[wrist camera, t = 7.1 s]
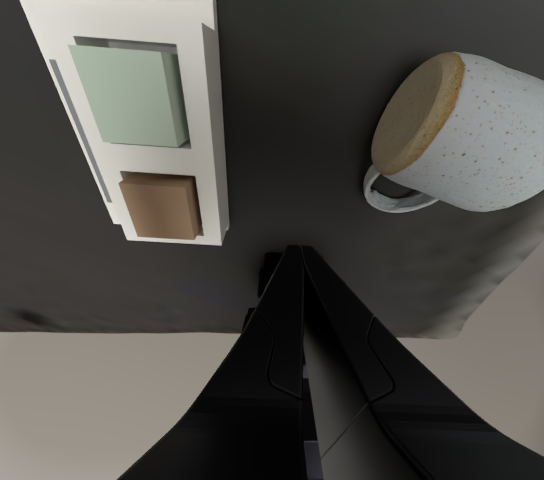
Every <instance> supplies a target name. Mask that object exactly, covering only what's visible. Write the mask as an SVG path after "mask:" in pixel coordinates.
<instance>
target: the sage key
mask: <svg viewBox="0 0 544 480" xmlns="http://www.w3.org/2000/svg"><path fill="white" fill-rule="evenodd" d="M68 47H69V50H70V53H71V55H72V58H73V61H74V64H75V66H76V69H77V72H78V75H79V77H80V80H81V83H82V86H83V88H84V91H85V94H86V97H87V99H88V102H89V105H90V108H91V111H92V113H93V116H94V119H95V122H96V124H97V127H98V130H99V133H100V135H101V138H102V141H103V142H110V143H125V144H139V145H154V146H168V147H179V146H180V145H181V144H182V143H184V142H185V141H186V140H188V139H189V138H190V136H189V129H188V122H187V115H186V108H185V101H184V94H183V87H182V80H181V73H180V66H179V59H178V55H177V54H171V53H164V52H156V51H143V50H131V49H118V48H105V47H93V46H80V45H68Z"/></svg>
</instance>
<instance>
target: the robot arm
mask: <svg viewBox="0 0 544 480" xmlns="http://www.w3.org/2000/svg"><path fill="white" fill-rule="evenodd" d="M268 257H270V258H268ZM117 480H544V456H541V455H540V454H538V453H536V452H534V451H532V450H530V449H529V448H527V447H525V446H523V445H521V444H519V443H517V442H516V441H514V440H512V439H510V438H509V437H507V436H506V435H504V434H503V433H501V432H500V431H498V430H497V429H495V428H494V427H493V426H491V425H490V424H489V423H487V422H486V421H485V420H484V419H482V418H481V417H480V416H478V415H477V414H476V413H475V412H474V411H473V410H472V409H471V408H469V407H468V406H467V405H466V404H465V403H464V402H463V401H462V400H461V399H459V398H458V397H457V396H456V395H455V394H454V393H453V392H452V391H451V390H450V389H449V388H448V387H447V386H446V385H445V384H444V383H442V382H441V381H440V380H439V379H438V378H437V377H436V376H435V375H434V374H433V373H432V372H431V371H430V370H428V369H427V368H426V367H425V366H424V365H423V364H422V363H421V362H420V361H419V360H418V359H417V358H416V357H415V356H414V355H413V354H412V353H411V352H410V351H409V350H407V349H406V348H405V347H404V346H403V345H402V344H401V343H400V342H399V341H398V340H397V339H396V338H395V336H394V335H393V334H392V333H391V332H390V331H389V330H388V329H387V328H386V327H385V326H384V325H383V324H382V323H381V322H380V321H379V319H378V318H377V317H374V314H373V313H372V312H371V311H370V310H369V309H368V308H367V306H366V305H365V304H364V303H363V302H362V301H361V300H360V299H359V298H358V297H357V296H356V294H355V293H354V292H353V291H352V290H351V289H350V288H349V287H348V286H347V285H346V283H345V282H344V281H343V280H342V279H341V278H340V277H339V276H338V275H337V274H336V273H335V271H334V270H333V269H332V268H331V267H330V266H329V265H328V264H327V263H326V262H325V260H324V259H323V258H322V257H321V256H320V255H319V254H318V253H317V252H316V251H315V250H314V248H313V247H311V246H304V245H301V246H300V247H299V246H298V245H288V246H287V248H286V250H285V251H284V253H283V254H277V253H267V254H266V255H265V259H264V269H261V270H260V273H259V285H258V297H257V306H256V308H249V309H248V313H247V315H246V317H245V321H244V325H243V329H242V333H241V335H240V337H239V338H238V340H237V341H236V343H235V344H234V346H233V347H232V349H231V350H230V352H229V353H228V355H227V356H226V358H225V359H224V360H223V362H222V363H221V365H220V366H219V368H218V369H217V370H216V372H215V373H214V375H213V376H212V378H211V379H210V380H209V382H208V383H207V385H206V386H205V388H204V389H203V391H202V392H201V393H200V395H199V396H198V397H197V399H196V400H195V401H194V403H193V404H192V405H191V407H190V408H189V409H188V411H187V412H186V413H185V414H184V415H183V417H182V418H181V419H180V420H179V421H178V422H177V423H176V425H174V427H173V428H172V429H171V430H170V431H169V432H168V433H166V434H165V435H164V436H163V437H162V438H161V439H160V440H159V441H158V442H157V443H156V444H155V445H153V446H152V447H151V449H149V450H148V451H147V452H146V453H145V454H144V455H143V456H142V457H141V458H140V459H138V460H137V461H136V462H135V463H134V464H133V465H132V466H131V467H130V468H129V469H128V470H127V471H126V472H125V473H123V474H122V475H121V476H120V477H119V478H118V479H117Z"/></svg>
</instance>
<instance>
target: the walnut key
mask: <svg viewBox="0 0 544 480" xmlns="http://www.w3.org/2000/svg"><path fill="white" fill-rule="evenodd" d="M118 184H119V187H120V189H121V192H122V195H123V198H124V200H125V203H126V206H127V209H128V211H129V214H130V217H131V220H132V222H133V225H134V228H135V231H136V234H137V236H138V237H149V238H166V239H183V240H195V238H196V236H197V234H198V232H199V230H200V228H201V226H202V219H201V212H200V205H199V198H198V191H197V184H196V177H195V176H191V175H176V174H160V173H145V172H133V173H132V174H131V175H129V176H128V177H126V178H125V179H124V180H122V181H121V182H119V183H118Z"/></svg>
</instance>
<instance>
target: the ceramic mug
mask: <svg viewBox="0 0 544 480" xmlns="http://www.w3.org/2000/svg"><path fill="white" fill-rule="evenodd" d="M371 157H372V161H373V165H372V166H371V167H370V168H369V169H368V171H367V174H366V176H365V178H364V195H365V198H366V200H367V202H368V203H369V204H370V205H372V206H373V207H375V208H377V209H379V210H381V211H385V212H392V213H402V212H408V211H413V210H417V209H420V208H422V207H425V206H428V205H430V204H432V203H434V202H436V201H438V200H442V201H444V202H447V203H449V204H452V205H454V206H456V207H459V208H462V209H465V210H470V211H479V212H487V211H494V210H498V209H502V208H507V207H510V206H512V205H514V204H517V203H520V202H522V201H524V200H526V199H529V198H530V197H532V196H534V195H536V194H537V193H539V192H541V191H542V190H544V81H543V80H540V79H538V78H535V77H533V76H530V75H528V74H525V73H522V72H519V71H516V70H513V69H510V68H507V67H505V66H503V65H501V64H499V63H496V62H494V61H492V60H489V59H487V58H484V57H481V56H477V55H473V54H465V53H459V52H446V53H441V54H439V55H436V56H434V57H432V58H430V59H429V60H427V61H426V62H424V63H423V64H421V65H420V66H419V67H418V68H416V69H415V70H414V71H413V72H412V73H411V74H410V75H409V76H408V77H407V78H406V79H405V80H404V82H403V83H402V84H401V85H400V87H399V88H398V89H397V91H396V92H395V94H394V95H393V97H392V98H391V100H390V102H389V103H388V105H387V107H386V109H385V111H384V112H383V114H382V116H381V118H380V121H379V123H378V126H377V128H376V130H375V134H374V137H373V142H372V147H371ZM379 174H382V175H383V176H385V177H386V178H388V179H390V180H391V181H394V182H396V183H398V184H400V185H403V186H406V187H409V188H412V189H415V190H418V191H420V192H421V193H418V194H416V195H413V196H410V197H406V198H400V199H395V198H393V199H391V198H388V197H386V196H384V195H382V194H379V193H378V192H377V191H376V190H373V189H370V186H371V185H372V183H373V182H374V180H375V179H376V178H377V177H378V176H379Z"/></svg>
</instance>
